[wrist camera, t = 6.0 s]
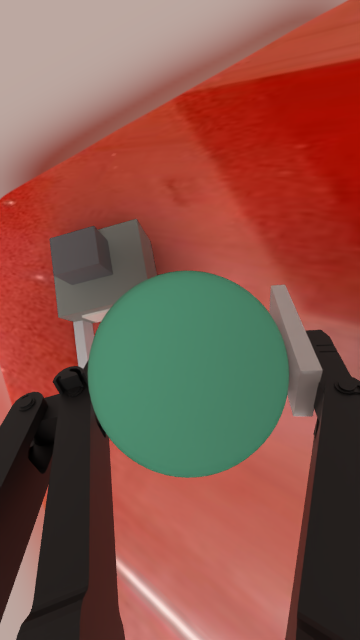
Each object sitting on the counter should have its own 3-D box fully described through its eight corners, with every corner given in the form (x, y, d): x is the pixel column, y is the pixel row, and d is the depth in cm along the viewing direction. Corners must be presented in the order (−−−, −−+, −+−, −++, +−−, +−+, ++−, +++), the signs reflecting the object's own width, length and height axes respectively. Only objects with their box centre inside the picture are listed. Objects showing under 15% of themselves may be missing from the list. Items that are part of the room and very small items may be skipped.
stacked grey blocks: (152, 241, 43) (127, 200, 33) (177, 371, 39) (158, 373, 29) (75, 262, 45) (28, 230, 34) (91, 388, 41) (44, 396, 30)
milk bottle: (178, 325, 26) (41, 210, 7) (259, 327, 25) (369, 189, 6) (174, 406, 25) (-6, 541, 6) (259, 413, 24) (401, 618, 4)
